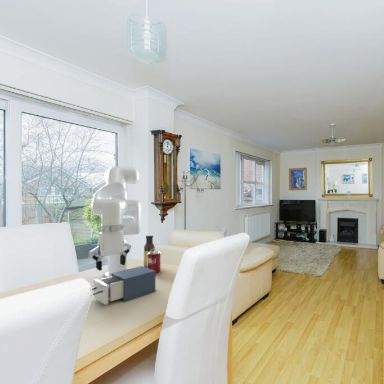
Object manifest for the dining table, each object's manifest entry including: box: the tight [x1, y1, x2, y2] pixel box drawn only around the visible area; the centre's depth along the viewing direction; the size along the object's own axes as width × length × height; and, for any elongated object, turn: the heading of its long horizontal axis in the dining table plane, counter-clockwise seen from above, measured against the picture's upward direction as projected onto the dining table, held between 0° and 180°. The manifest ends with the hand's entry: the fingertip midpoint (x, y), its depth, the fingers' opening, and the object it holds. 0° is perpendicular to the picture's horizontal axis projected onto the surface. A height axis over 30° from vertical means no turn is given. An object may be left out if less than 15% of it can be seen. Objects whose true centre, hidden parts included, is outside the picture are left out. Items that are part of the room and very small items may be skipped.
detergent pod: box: [107, 283, 111, 298], centre depth 113 cm, size 4×4×4 cm
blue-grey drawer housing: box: [111, 265, 156, 302], centre depth 122 cm, size 15×13×10 cm
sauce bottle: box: [143, 234, 156, 268], centre depth 160 cm, size 6×6×20 cm
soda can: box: [147, 250, 162, 276], centre depth 149 cm, size 7×7×12 cm
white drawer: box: [91, 276, 124, 306], centre depth 113 cm, size 19×11×8 cm, turn 142°
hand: (111, 267), depth 114 cm, fingers open, 9 cm apart
